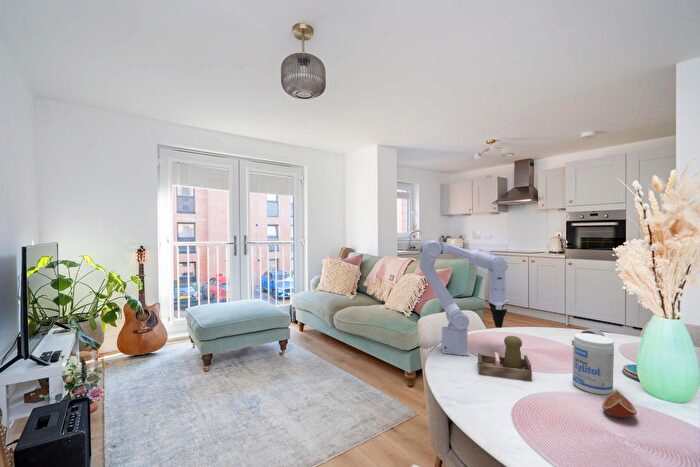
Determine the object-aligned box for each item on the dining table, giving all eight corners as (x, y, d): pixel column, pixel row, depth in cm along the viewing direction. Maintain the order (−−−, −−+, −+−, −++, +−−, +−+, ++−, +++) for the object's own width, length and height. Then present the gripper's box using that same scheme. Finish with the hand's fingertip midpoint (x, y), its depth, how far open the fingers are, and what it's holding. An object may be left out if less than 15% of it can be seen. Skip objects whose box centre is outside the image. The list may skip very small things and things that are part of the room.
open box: (479, 374, 107) (479, 360, 107) (478, 362, 116) (477, 349, 116) (531, 381, 102) (531, 366, 102) (526, 368, 111) (526, 354, 111)
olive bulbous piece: (520, 367, 110) (520, 334, 110) (526, 375, 104) (526, 340, 104) (500, 366, 112) (500, 333, 111) (505, 374, 106) (505, 339, 105)
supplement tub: (570, 388, 97) (570, 338, 97) (574, 377, 104) (574, 330, 104) (613, 399, 91) (613, 345, 91) (614, 386, 98) (614, 336, 98)
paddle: (496, 372, 106) (496, 360, 106) (494, 363, 113) (494, 352, 113) (499, 372, 106) (499, 361, 106) (497, 363, 113) (497, 352, 113)
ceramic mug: (607, 348, 129) (606, 328, 129) (601, 353, 124) (601, 332, 124) (575, 341, 137) (574, 323, 137) (568, 346, 132) (568, 327, 132)
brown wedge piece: (602, 404, 88) (602, 385, 88) (635, 412, 84) (635, 393, 84) (602, 418, 82) (602, 398, 82) (638, 428, 78) (638, 407, 78)
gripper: (511, 292, 118) (511, 330, 118) (506, 285, 131) (507, 320, 132) (489, 291, 120) (490, 329, 120) (487, 285, 134) (487, 318, 134)
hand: (497, 324), depth 126 cm, fingers open, 7 cm apart
